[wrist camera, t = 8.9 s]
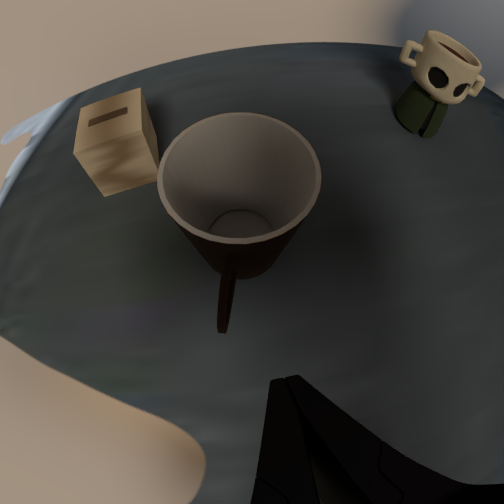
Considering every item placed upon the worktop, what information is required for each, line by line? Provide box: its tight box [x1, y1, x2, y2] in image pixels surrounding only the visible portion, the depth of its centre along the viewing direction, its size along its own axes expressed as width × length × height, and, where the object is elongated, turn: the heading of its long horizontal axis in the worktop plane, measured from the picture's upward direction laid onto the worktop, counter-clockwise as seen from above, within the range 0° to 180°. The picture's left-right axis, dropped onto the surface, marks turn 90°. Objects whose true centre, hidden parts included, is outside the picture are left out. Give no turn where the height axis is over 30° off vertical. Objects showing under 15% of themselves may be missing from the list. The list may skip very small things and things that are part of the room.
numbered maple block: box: [74, 87, 160, 197], centre depth 24 cm, size 6×6×7 cm
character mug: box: [396, 30, 485, 137], centre depth 25 cm, size 11×7×13 cm, turn 77°
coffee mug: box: [157, 112, 322, 334], centre depth 19 cm, size 12×9×10 cm
